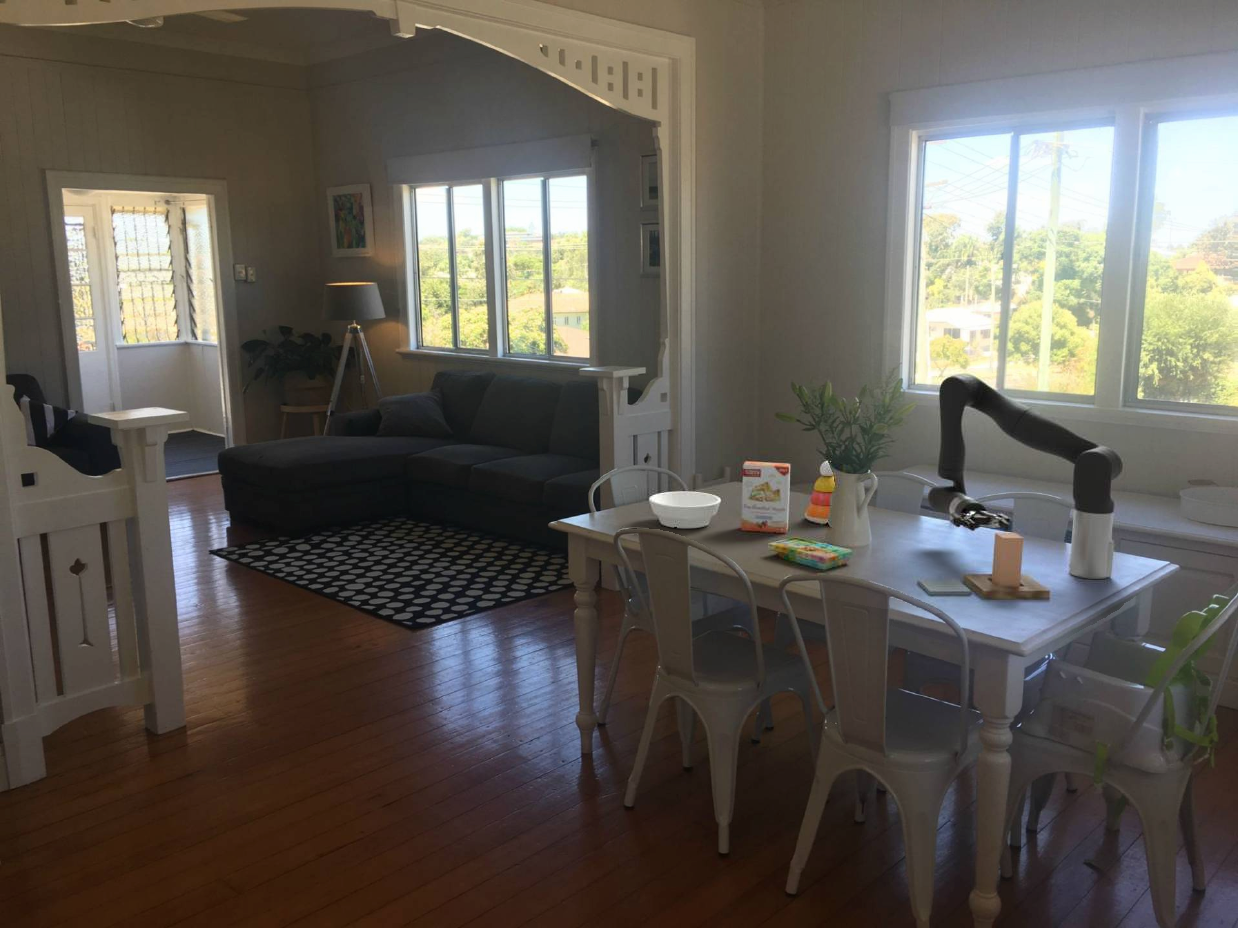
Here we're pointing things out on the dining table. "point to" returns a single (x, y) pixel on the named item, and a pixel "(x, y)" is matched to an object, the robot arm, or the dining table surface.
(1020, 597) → the walnut puzzle board
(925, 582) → the slate pad
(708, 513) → the bowl
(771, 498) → the cracker box
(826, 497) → the stacking toy
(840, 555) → the puzzle game
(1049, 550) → the dining table surface
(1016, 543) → the terracotta block
